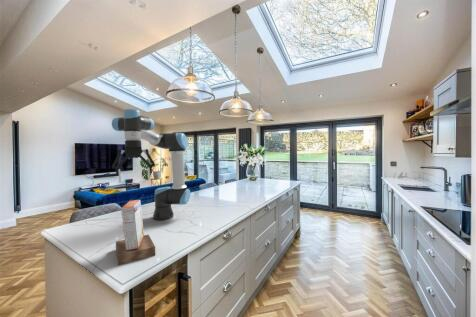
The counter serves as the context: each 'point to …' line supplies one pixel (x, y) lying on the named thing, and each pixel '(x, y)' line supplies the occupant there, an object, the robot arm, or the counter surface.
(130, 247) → the cracker box
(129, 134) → the robot arm
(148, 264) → the counter surface
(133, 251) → the walnut plinth block
